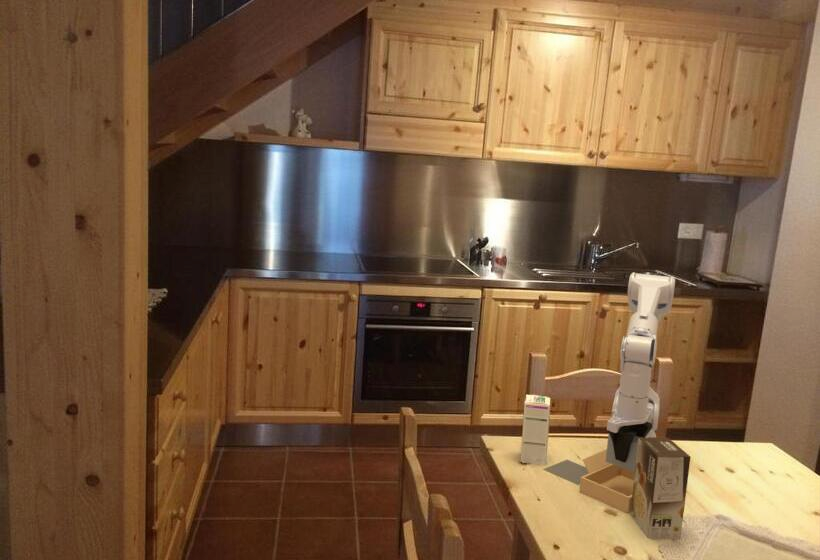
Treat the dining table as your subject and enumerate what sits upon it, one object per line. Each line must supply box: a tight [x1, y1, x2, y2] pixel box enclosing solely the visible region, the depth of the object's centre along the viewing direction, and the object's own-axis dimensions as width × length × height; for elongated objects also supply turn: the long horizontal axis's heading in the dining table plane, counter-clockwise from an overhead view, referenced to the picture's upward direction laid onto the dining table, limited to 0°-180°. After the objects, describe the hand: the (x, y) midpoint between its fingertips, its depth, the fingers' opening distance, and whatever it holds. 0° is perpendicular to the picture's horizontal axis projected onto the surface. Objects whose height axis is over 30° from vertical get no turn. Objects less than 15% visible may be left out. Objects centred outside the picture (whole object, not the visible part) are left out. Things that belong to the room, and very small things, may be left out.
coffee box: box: [629, 436, 692, 540], centre depth 126 cm, size 9×6×16 cm
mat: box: [542, 459, 589, 486], centre depth 149 cm, size 9×9×1 cm
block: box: [606, 433, 642, 473], centre depth 139 cm, size 4×7×6 cm, turn 42°
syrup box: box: [520, 394, 551, 466], centre depth 154 cm, size 6×6×14 cm
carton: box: [578, 448, 635, 514], centre depth 140 cm, size 15×15×6 cm
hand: (626, 457), depth 139 cm, fingers closed on block, 4 cm apart
